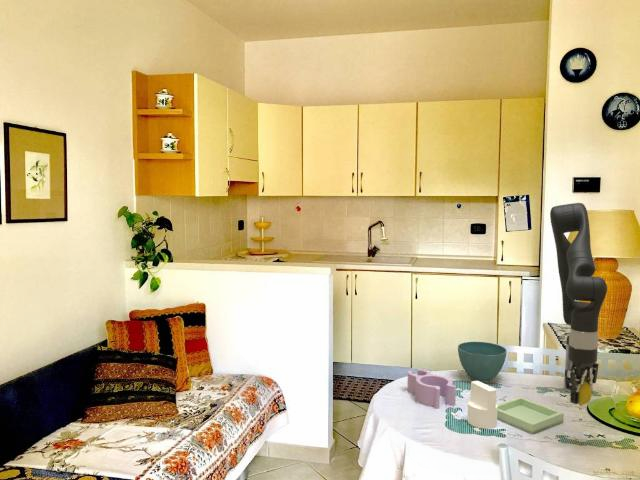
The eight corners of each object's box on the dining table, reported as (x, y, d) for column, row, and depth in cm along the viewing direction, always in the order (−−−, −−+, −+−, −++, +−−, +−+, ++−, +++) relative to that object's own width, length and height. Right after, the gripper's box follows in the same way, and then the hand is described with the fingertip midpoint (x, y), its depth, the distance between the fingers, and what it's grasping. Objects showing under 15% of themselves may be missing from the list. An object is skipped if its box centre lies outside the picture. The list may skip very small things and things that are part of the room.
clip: (399, 390, 200) (399, 371, 199) (427, 385, 205) (427, 367, 204) (431, 410, 181) (432, 390, 181) (461, 404, 187) (462, 385, 186)
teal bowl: (495, 390, 200) (497, 358, 198) (449, 379, 211) (450, 349, 209) (511, 377, 214) (513, 347, 213) (467, 367, 225) (468, 338, 224)
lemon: (566, 402, 161) (567, 376, 160) (584, 401, 162) (585, 375, 161) (576, 410, 156) (578, 383, 155) (595, 409, 156) (596, 382, 155)
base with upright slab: (461, 419, 175) (462, 382, 173) (483, 414, 178) (485, 379, 177) (480, 430, 166) (481, 392, 165) (503, 425, 170) (504, 388, 169)
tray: (519, 405, 186) (520, 396, 186) (563, 422, 173) (563, 413, 173) (489, 415, 177) (489, 406, 177) (532, 434, 164) (532, 424, 164)
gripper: (584, 337, 164) (581, 391, 166) (556, 345, 156) (554, 402, 158) (609, 343, 158) (606, 399, 160) (581, 352, 150) (578, 411, 151)
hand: (580, 400), depth 159 cm, fingers closed on lemon, 5 cm apart
